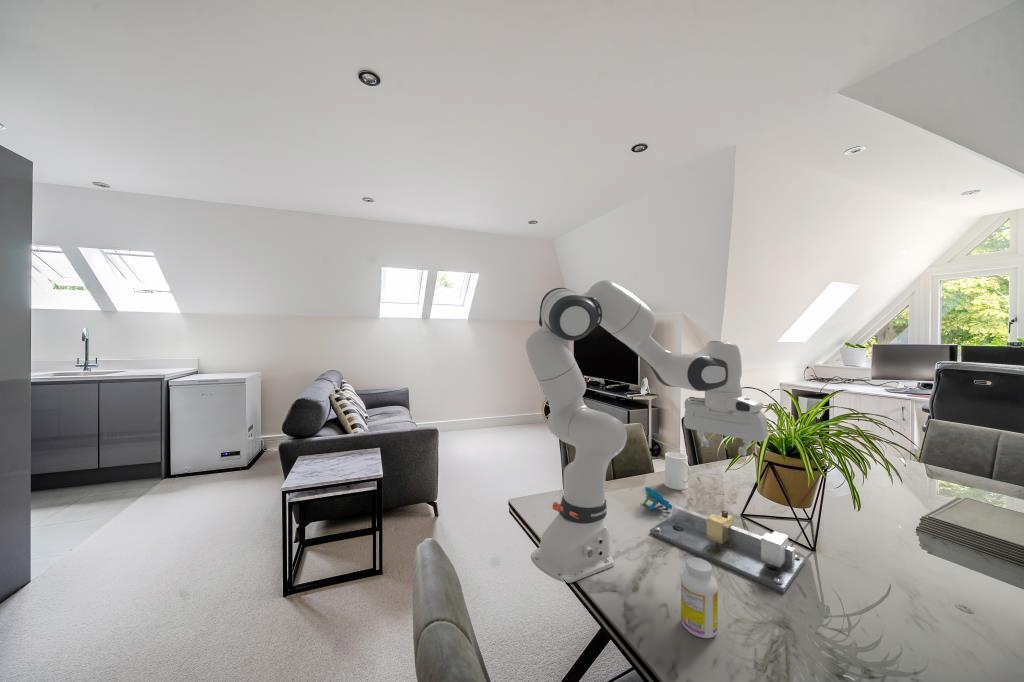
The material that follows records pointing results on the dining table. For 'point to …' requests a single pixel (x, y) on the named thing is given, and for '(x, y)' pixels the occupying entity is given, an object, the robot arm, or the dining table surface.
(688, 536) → the bolt plate
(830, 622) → the dining table surface
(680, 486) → the mug
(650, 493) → the gear
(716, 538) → the block
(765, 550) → the trammel bar
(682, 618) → the supplement bottle
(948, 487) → the dining table surface
